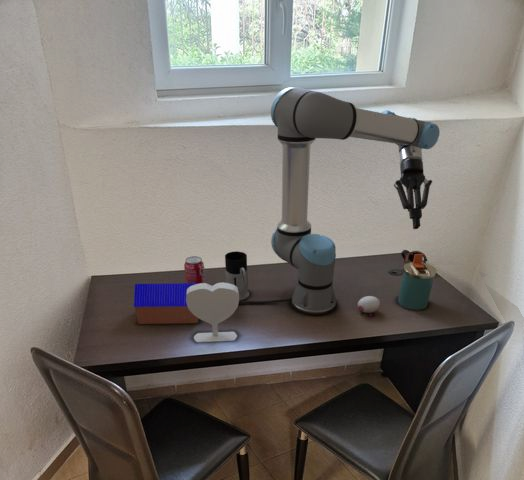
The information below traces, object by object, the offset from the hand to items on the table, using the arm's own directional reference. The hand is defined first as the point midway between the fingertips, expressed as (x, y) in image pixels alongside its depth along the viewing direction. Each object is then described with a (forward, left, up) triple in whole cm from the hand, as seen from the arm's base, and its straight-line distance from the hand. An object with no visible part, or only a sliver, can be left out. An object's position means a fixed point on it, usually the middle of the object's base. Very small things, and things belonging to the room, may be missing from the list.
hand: (416, 227), depth 157 cm
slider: (-2, -8, -10) cm, 13 cm away
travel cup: (-2, -10, -23) cm, 26 cm away
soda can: (-74, +19, -24) cm, 80 cm away
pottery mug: (+12, +15, -24) cm, 30 cm away
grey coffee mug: (-60, +9, -24) cm, 66 cm away
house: (-85, +4, -24) cm, 89 cm away
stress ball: (-20, -11, -24) cm, 33 cm away
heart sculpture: (-73, -13, -24) cm, 78 cm away
